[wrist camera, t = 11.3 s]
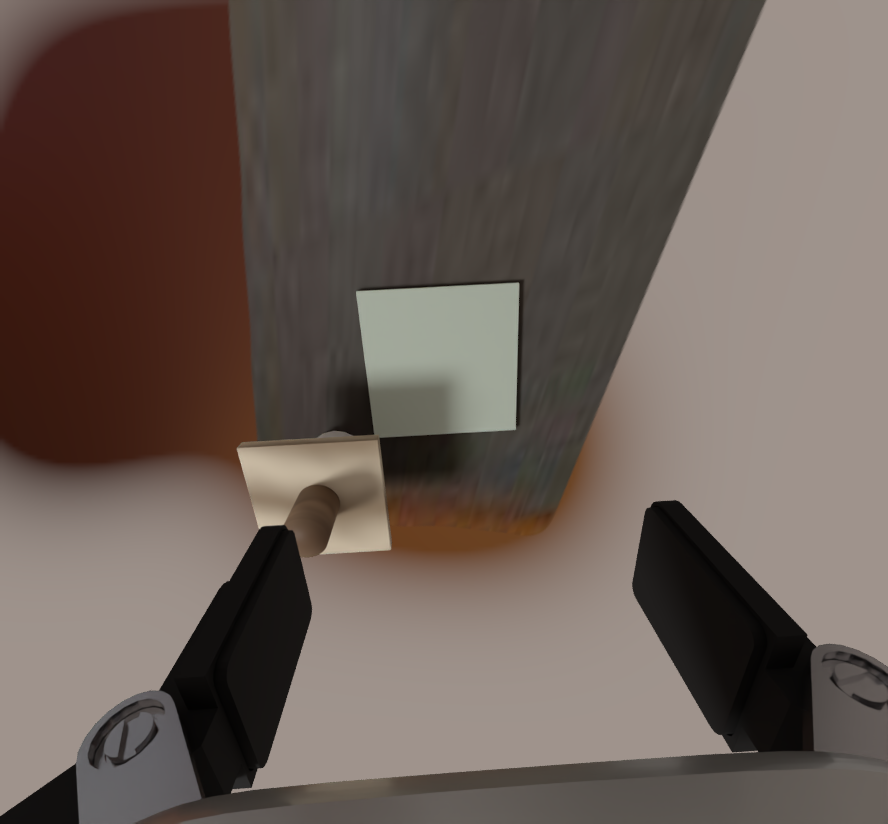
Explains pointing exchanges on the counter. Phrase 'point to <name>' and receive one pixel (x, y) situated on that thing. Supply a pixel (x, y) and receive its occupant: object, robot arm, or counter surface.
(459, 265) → the counter surface
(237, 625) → the robot arm
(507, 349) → the mat
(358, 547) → the lid
